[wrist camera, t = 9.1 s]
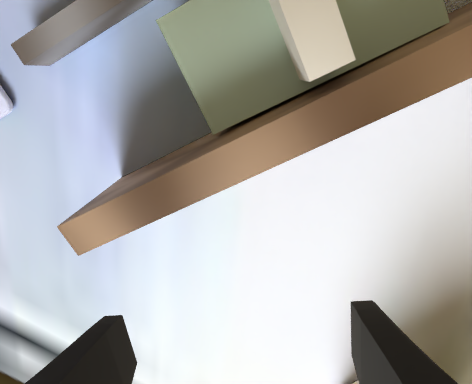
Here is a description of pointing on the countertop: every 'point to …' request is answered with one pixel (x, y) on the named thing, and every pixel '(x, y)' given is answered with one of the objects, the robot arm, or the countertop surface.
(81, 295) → the countertop surface
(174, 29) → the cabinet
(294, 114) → the wall board
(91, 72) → the countertop surface
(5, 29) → the countertop surface
